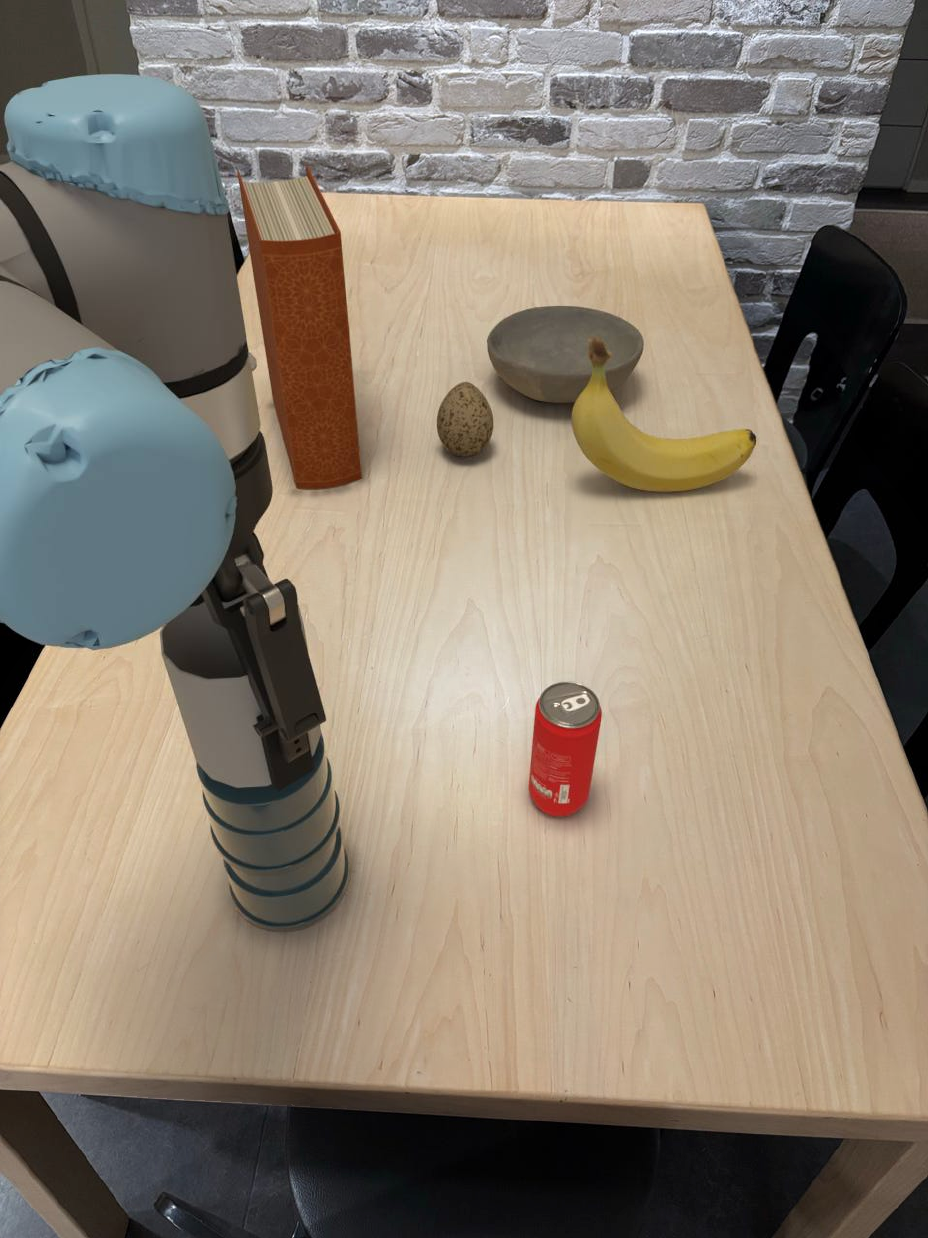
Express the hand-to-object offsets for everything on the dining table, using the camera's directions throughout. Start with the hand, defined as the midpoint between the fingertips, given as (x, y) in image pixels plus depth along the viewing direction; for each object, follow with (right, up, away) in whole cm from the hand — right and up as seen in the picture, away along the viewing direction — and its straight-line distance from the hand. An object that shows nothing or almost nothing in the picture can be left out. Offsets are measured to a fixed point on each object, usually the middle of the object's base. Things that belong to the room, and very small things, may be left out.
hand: (256, 733), depth 61 cm
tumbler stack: (0, -13, +12) cm, 18 cm away
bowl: (+28, +40, +69) cm, 84 cm away
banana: (+37, +24, +52) cm, 68 cm away
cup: (0, 0, 0) cm, 1 cm away
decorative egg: (+14, +29, +57) cm, 65 cm away
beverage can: (+22, -8, +18) cm, 30 cm away
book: (-6, +31, +59) cm, 67 cm away
